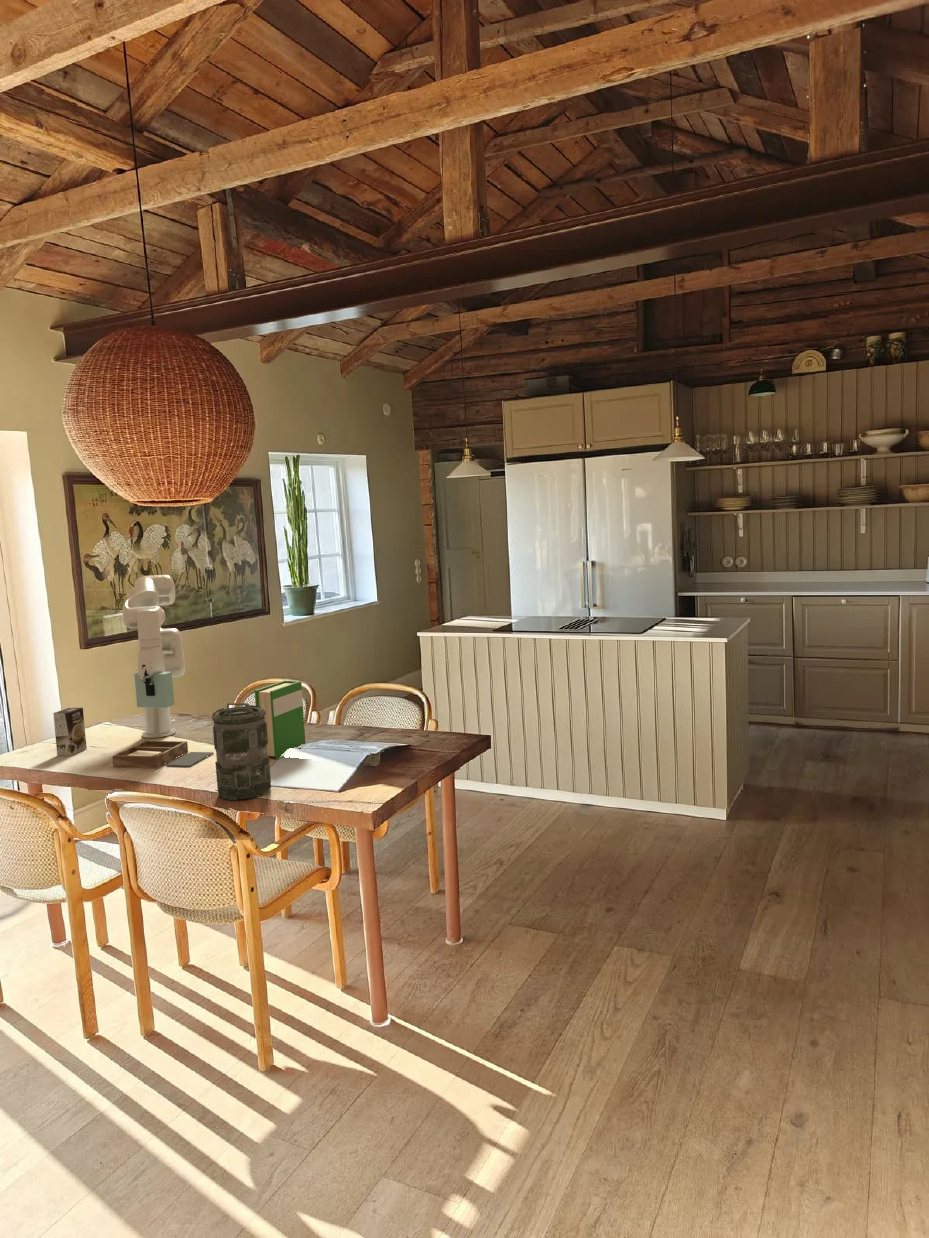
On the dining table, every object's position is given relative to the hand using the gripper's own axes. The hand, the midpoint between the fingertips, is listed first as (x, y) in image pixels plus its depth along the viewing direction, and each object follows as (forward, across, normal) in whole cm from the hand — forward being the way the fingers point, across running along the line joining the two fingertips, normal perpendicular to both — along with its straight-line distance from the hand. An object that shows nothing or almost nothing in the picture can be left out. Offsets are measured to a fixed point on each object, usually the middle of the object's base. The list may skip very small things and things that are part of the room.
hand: (154, 693), depth 309 cm
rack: (+23, +6, 0) cm, 23 cm away
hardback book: (+23, -8, +44) cm, 50 cm away
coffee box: (+23, -1, -37) cm, 43 cm away
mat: (+22, +5, +15) cm, 28 cm away
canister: (+22, +37, +52) cm, 68 cm away
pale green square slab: (+4, 0, 0) cm, 4 cm away
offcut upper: (+21, +10, 0) cm, 23 cm away
